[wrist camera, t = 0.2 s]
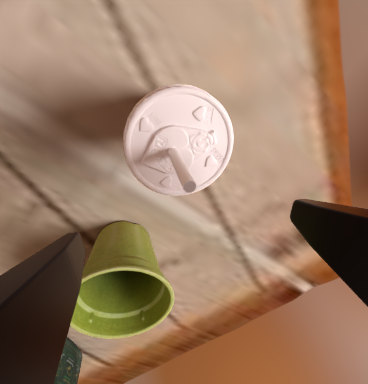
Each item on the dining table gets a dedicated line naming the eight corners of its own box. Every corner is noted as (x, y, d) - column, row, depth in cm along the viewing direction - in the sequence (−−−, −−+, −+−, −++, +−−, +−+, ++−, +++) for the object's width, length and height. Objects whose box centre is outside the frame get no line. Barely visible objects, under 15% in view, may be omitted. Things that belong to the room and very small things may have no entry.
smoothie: (113, 90, 19) (86, 131, 7) (184, 66, 19) (273, 68, 7) (140, 157, 22) (153, 262, 11) (201, 136, 23) (280, 216, 11)
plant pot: (109, 279, 30) (102, 351, 22) (62, 230, 25) (34, 301, 17) (174, 249, 29) (189, 312, 22) (140, 194, 24) (144, 250, 17)
